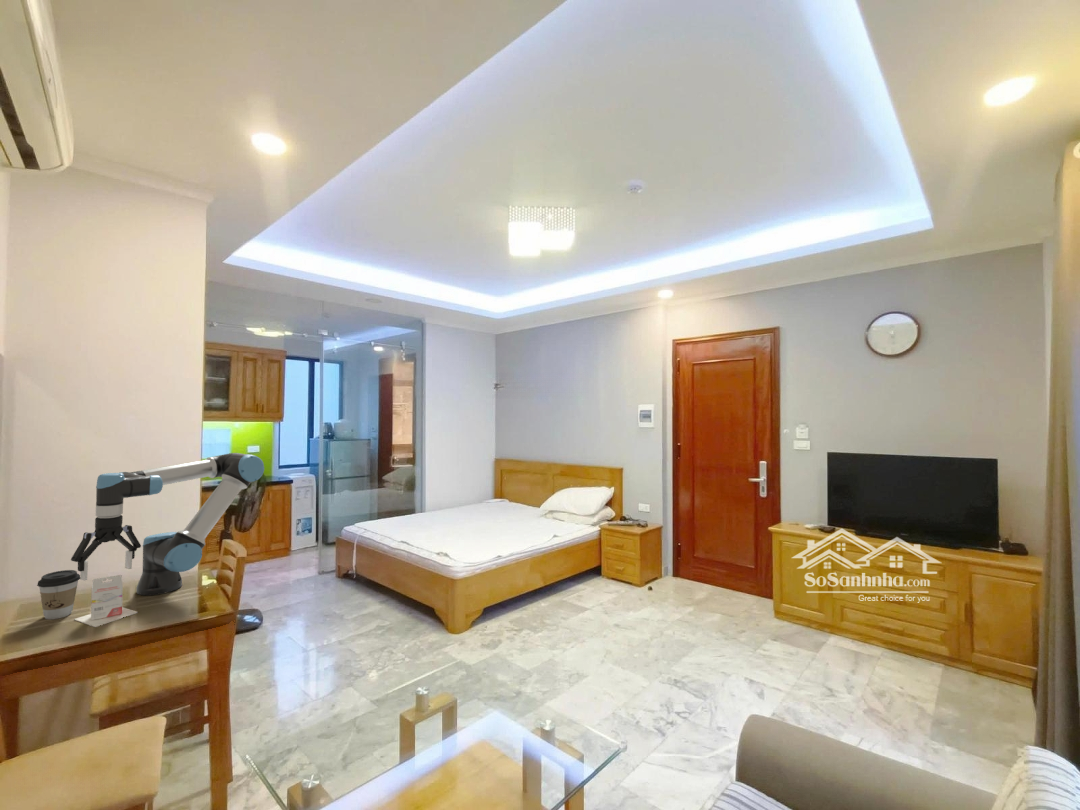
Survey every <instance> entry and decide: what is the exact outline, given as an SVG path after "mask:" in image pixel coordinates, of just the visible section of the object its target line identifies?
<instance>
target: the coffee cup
mask: <svg viewBox="0 0 1080 810" xmlns="http://www.w3.org/2000/svg"><path fill="white" fill-rule="evenodd" d="M79 580H81V579H80V573H78V570H73V569H66V570H58V571H53V572H50V573H49V572H48V573H46V574H44V575H42V576H41V579H39V580H38V582H37V585H36V586H37V587H38V588H39V593H40V599H41V606H42V613H43V617H44V619H45V620H57V619H61V618H65V617H67V616H69V615H71V614H72V613H73V610H74V606H75V599H76V595H77V588H78V584H79Z"/></svg>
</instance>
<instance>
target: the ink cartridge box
mask: <svg viewBox="0 0 1080 810" xmlns="http://www.w3.org/2000/svg"><path fill="white" fill-rule="evenodd" d="M106 580H110V581H106ZM103 581H104V582H103ZM90 594H91V596H90V597H91V601H90V605H91V607H90V608H91V609H90V612H91V613H90V614H91V620H95V619H100V618H105V617H110V616H115V615H120V614H122V607H123V575H122V574H117V575H111V576H105V577H99V578H93V579H92V585H91V593H90Z"/></svg>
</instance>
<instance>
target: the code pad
mask: <svg viewBox="0 0 1080 810" xmlns="http://www.w3.org/2000/svg"><path fill="white" fill-rule="evenodd" d="M138 613H139V612H138V611H137V610H136V611H135V610H132V609H129V608H126V607H123V606H122V614H120V615H115V616H110V617H105V618H100V619H95V620H91V613H89V614H86V615H82V616H79V617H76V618H74V621H76V622H79V623H82V624H85V625H87V626H90V627H94V628H98V627H100V625H101V626H103V624H104V625H106V624H109V623H112V622H115V621H118V620H120V619H124V618H126V616H127V617H129V616H133V615H135V614H138ZM123 617H124V618H123Z"/></svg>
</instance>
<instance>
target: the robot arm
mask: <svg viewBox="0 0 1080 810" xmlns="http://www.w3.org/2000/svg"><path fill="white" fill-rule="evenodd" d="M264 472H265V464H264V461H263V460H262V458H260V457H258V456H257V455H254V454H251V453H250V454H248V453H240V452H230V453H224V454H220V455H219V454H218V455H214V456H210V457H207V458H206V459H205V460H203V459H202V460H198V461H192V462H191V461H190V462H187V463H186V462H185V463H181V464H180V463H179V464H173V465H168V466H162V467H155V468H148V469H143V470H137V471H130V472H129V471H122V472H107V473H106V472H105V473H100V474H99V475H98V476H97V479H96V486H95V489H96V494H95V496H96V497H95V498H96V499H95V518H94V529H95V530H94V532H84V533H83V537H82V539H81V542H80V543H79V545H78V547H77V548H76V550H75V551H74V553H73V555H72V556H71V559H70V561H71V562H75V563H77V572H80V573H79V575H80V579H79V580H81V581H85V582H86V581H88V570H89V565H88V564H89V561H88V560H87V559H88V558H89V557H90V556H91V555H92V554H93V553H94V551H96V549H97V548H98V547H99V546H100V545H102V544H103V543H104V544H105V543H109V542H115V541H118V543H120V544H121V545H122V546H124V548H126V549H127V550H125V556H124V557H125V563H124V565H125V566H124V569H128V570H131V569H133V567H132V565H133V560H134V559H135V556H136V555H135V554H136V553H135V552H136V551H137V550H138V549H140V548H142V572H141V576H140V578H139V580H138V583H137V585H136V594H137V595H138V596H139V595H140V596H156V595H163V594H167V593H170V592H173V591H176V590H178V589H180V588H181V587H182V585H183V578H182V576H181V574H180V573H182V572H188V571H190V570H192V569H193V568H194V567H197V565H198V564H199V563H200V561H201V560H202V556H203V549H204V548H205V546H206V542H205V541H206V538H207V537H208V535H209V533H211V531H212V530H213V529H214V528H215V525H216V524H217V523H218V522H219V521H220V520H221V518H222V516H223V515H224V514H225V512H226V511H227V509H228V508H229V507H230V506H231V504H232V503H233V502H234V500H235V499H236V497H237V496H238V495H239V493H240V492H241V491H243V490H245V489H247V488H248V487H249V486H250V484H251V483H252V482H255V481H258V480H260V479H261V477H262V476H263V474H264ZM207 477H208V478H209V479H214V478H221V479H222V480H221V481H220V483H219V484H218V485H217V486H216V488H215V489H214V490H213V492H212V493H211V494H210V495H209V497H208V498H207V499H206V501H205V502H204V503H203V505H202V506H201V507H200V508H199V509H198V511H197V512H196V514H195V515H194V516H193V518H192V519H191V520H190V521H189V523H188V524H187V525H186V527H185V528H184V529H182V530H179V531H169V532H160V533H155V534H151V535H147V536H146V537H145V538H143V543H142V545H141V543H140V541H139V539H138V538H137V537H136V535H135V533H134V532H133V526H132V525H130V524H129V525H128V524H125V525H124V526H122V525H123V519H124V518H123V515H122V514H123V513H124V499H125V498H126V499H127V498H135V497H142V496H144V497H145V496H152V495H158V494H160V493H161V492H162V490H163V488H164V487H163V486H165V485H171V484H175V483H180V482H181V483H182V482H186V481H192V480H197V479H203V478H207ZM122 532H124V533H125V535H126V536H127V537H128V539H129V541H130V542H131V543H130V542H129V541H128V540H127V539H126V538H124V536H122V535H121V534H122ZM94 537H95V538H94ZM93 538H94V539H93ZM91 539H93V540H92V542H91ZM90 542H91V544H90ZM89 544H90V545H89Z"/></svg>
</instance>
